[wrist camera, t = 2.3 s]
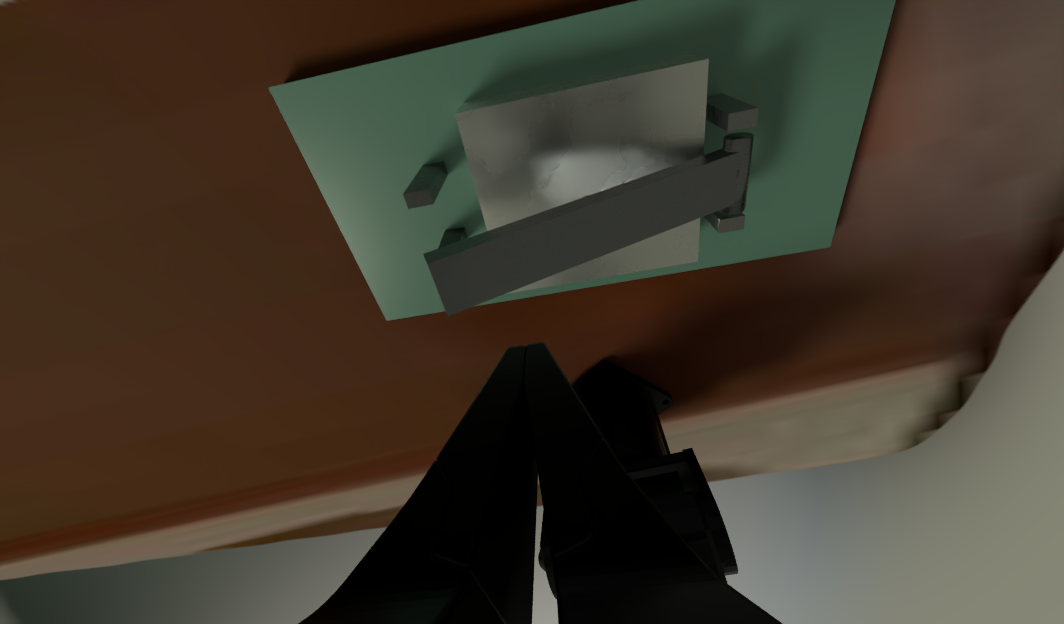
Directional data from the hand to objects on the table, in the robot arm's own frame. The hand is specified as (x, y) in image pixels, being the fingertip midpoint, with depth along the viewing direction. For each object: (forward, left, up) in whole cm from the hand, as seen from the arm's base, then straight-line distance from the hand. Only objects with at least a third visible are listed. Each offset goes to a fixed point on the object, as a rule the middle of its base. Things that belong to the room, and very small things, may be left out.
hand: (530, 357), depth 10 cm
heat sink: (-1, -1, -12) cm, 12 cm away
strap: (-2, -2, -7) cm, 7 cm away
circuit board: (-2, -2, -13) cm, 13 cm away
